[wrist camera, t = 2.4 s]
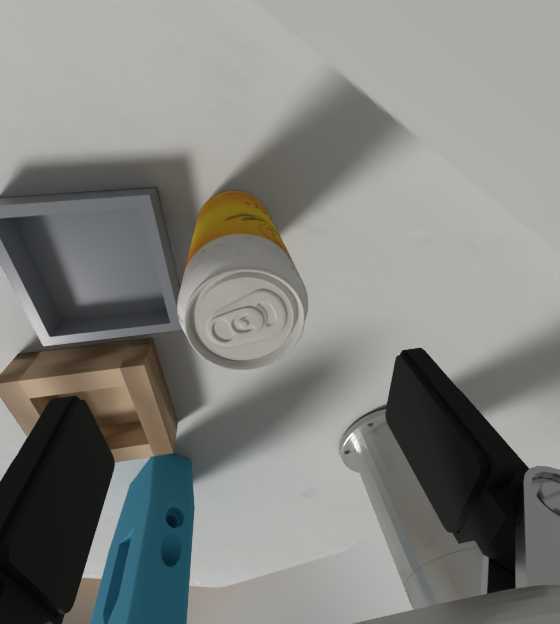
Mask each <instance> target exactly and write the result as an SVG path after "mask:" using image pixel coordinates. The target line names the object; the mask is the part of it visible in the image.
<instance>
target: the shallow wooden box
mask: <svg viewBox="0 0 560 624" xmlns="http://www.w3.org/2000/svg"><path fill="white" fill-rule="evenodd" d="M66 396H78V397H79V399H80V400H85V401H86V402H87V404H88V406H89V408H90V410H91V412H92V414H93V416H94V418H95V420H96V422H97V424H98V426H99V428H100V430H101V432H102V434H103V436H104V438H105V440H106V442H107V444H108V446H109V448H110V450H111V452H112V454H113V456H114V461H115V462H120V461H127V460H133V459H139V458H146V457H152V456H158V455H165V454H171V453H174V446H175V439H176V432H177V425H178V422H177V418H176V415H175V412H174V408H173V405H172V402H171V398H170V395H169V392H168V388H167V385H166V382H165V378H164V375H163V372H162V368H161V365H160V362H159V358H158V355H157V352H156V348H155V345H154V342H153V338H150V339H141V340H133V341H124V342H116V343H108V344H99V345H91V346H82V347H74V348H66V349H57V350H49V351H40V352H32V353H23V354H18V355H17V356H16V357H15V358H14V359H13V360H12V362H11V363H10V364H9V365H8V366H7V367H6V369H5V370H4V371H3V372H2V373H1V374H0V397H1V399H2V400H3V402H4V403H5V405H6V406H7V408H8V409H9V411H10V412H11V413H12V415H13V416H14V418H15V419H16V421H17V422H18V424H19V425H20V427H21V428H22V430H23V431H24V433H25V434H26V436H27V437H28V436H29V434H30V432H31V431H32V429H33V427H34V426H35V424H36V422H37V421H38V419H39V417H40V416H41V414H42V412H43V411H44V409H45V407H46V406H47V404H48V402H49V401H50V400H51V399H53V398H59V397H66Z"/></svg>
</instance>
